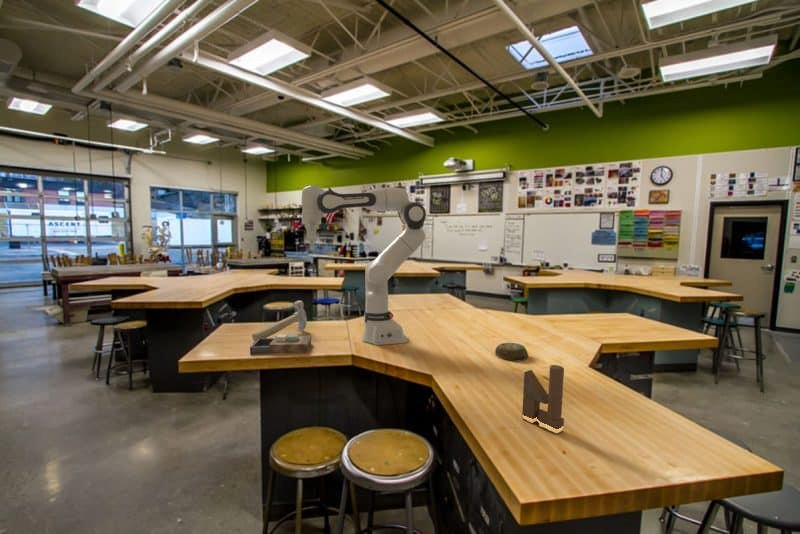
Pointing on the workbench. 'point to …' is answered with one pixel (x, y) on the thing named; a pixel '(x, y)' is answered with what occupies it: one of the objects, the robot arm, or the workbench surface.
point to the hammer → (284, 323)
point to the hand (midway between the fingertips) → (311, 250)
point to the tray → (261, 346)
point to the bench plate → (290, 345)
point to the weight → (511, 351)
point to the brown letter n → (544, 397)
